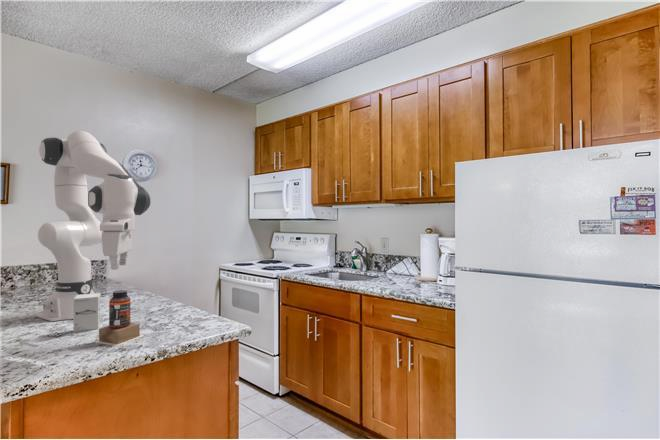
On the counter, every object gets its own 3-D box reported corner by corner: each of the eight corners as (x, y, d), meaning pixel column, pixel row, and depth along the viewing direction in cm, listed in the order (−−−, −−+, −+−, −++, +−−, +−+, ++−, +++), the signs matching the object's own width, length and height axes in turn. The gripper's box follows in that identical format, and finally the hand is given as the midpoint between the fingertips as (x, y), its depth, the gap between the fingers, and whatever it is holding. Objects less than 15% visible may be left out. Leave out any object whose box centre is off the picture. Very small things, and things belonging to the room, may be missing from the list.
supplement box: (72, 335, 121) (72, 298, 121) (76, 329, 128) (76, 294, 127) (98, 332, 124) (98, 296, 124) (100, 326, 131) (100, 292, 131)
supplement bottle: (121, 329, 111) (120, 293, 111) (104, 328, 112) (104, 292, 112) (134, 323, 117) (134, 289, 117) (119, 322, 118) (118, 289, 118)
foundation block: (99, 341, 112) (98, 328, 112) (121, 333, 120) (121, 321, 120) (118, 344, 109) (118, 331, 109) (139, 336, 117) (139, 324, 117)
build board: (74, 344, 113) (74, 340, 113) (114, 330, 126) (114, 327, 126) (117, 351, 107) (117, 347, 107) (154, 336, 120) (154, 332, 120)
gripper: (116, 223, 123) (116, 263, 123) (97, 225, 104) (97, 272, 104) (137, 223, 125) (137, 262, 125) (122, 225, 105) (121, 271, 106)
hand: (119, 267), depth 114 cm, fingers open, 8 cm apart
